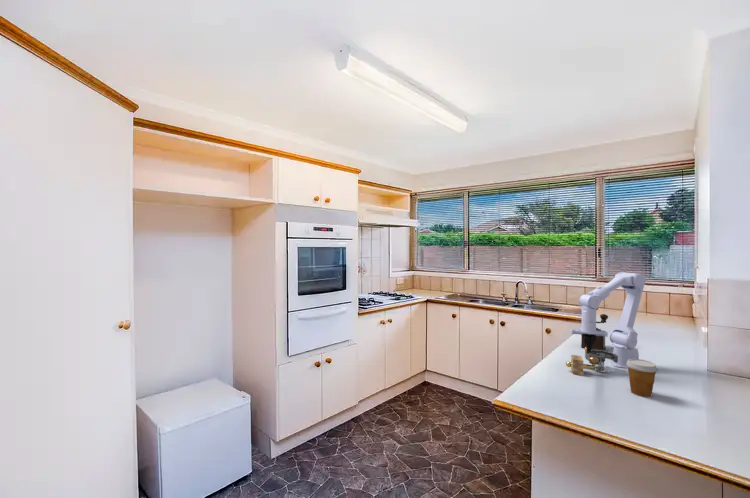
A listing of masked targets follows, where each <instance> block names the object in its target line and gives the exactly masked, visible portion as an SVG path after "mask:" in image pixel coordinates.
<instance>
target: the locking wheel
mask: <svg viewBox="0 0 750 498" xmlns="http://www.w3.org/2000/svg"><path fill="white" fill-rule="evenodd" d="M590 356H593V357H598V358H599V364H601V361H604V362H606V359H608V360H610V361H614V362H616V363H618V356H617V355H616V354H614V353H613V352H611V351H606V350H604V351H603V350H591V352H590V351H587V350H586V347H585V349H584V359H586V361H588V362H589V357H590Z"/></svg>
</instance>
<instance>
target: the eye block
mask: <svg viewBox="0 0 750 498" xmlns="http://www.w3.org/2000/svg"><path fill="white" fill-rule="evenodd" d="M570 362H572V367H570V371H571V373H572V375H576V376H584V369H583V364H584V358H583V356H582V355H578V354H576V355H575V354H570Z"/></svg>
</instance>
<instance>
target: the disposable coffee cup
mask: <svg viewBox="0 0 750 498" xmlns="http://www.w3.org/2000/svg"><path fill="white" fill-rule="evenodd" d="M626 364H627V366H628V368H627V371H628V378H629V386H630V393H632V394H634V395H636V396H639V397H645V398H651V397H652V394H653V389H654V384H655V378H656V372H657V371H658V368H659V367H657V364H656V363H655V362H652V361H649V360H646V359H629V360H628V362H627V363H626Z"/></svg>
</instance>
